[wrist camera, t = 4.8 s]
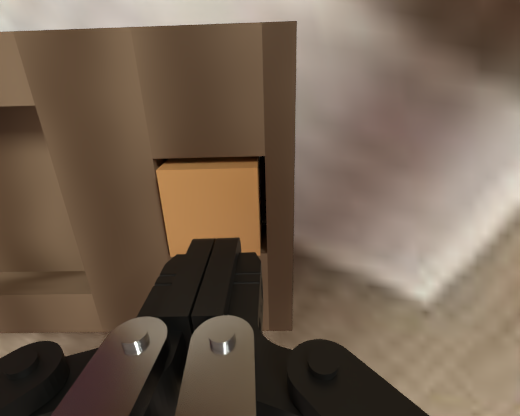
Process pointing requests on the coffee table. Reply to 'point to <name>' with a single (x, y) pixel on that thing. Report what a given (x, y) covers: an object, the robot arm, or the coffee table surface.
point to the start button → (211, 200)
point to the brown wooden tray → (131, 160)
